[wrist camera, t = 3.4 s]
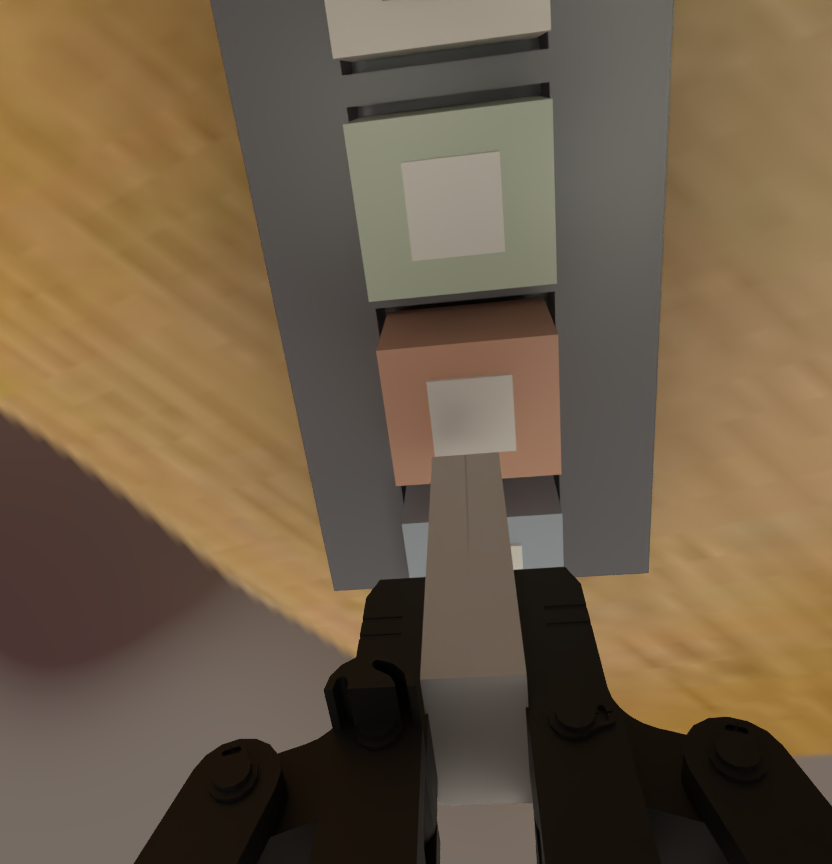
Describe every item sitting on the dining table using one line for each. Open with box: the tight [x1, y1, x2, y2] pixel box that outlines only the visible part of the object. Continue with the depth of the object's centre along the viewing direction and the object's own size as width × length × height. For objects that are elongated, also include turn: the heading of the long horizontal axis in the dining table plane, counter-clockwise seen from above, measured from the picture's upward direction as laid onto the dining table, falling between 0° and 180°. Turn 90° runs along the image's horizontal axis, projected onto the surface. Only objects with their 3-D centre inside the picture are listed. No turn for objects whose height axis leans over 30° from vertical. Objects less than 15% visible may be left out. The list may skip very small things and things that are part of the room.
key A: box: [343, 95, 557, 302], centre depth 19 cm, size 4×5×4 cm
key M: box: [402, 475, 564, 578], centre depth 24 cm, size 4×5×4 cm
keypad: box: [210, 0, 674, 591], centre depth 23 cm, size 23×12×3 cm, turn 7°
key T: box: [376, 297, 561, 486], centre depth 22 cm, size 4×5×4 cm
